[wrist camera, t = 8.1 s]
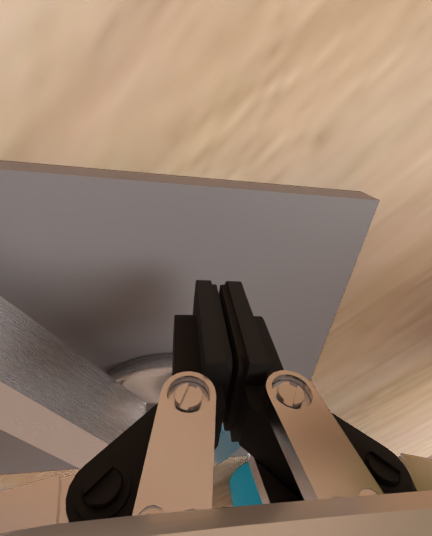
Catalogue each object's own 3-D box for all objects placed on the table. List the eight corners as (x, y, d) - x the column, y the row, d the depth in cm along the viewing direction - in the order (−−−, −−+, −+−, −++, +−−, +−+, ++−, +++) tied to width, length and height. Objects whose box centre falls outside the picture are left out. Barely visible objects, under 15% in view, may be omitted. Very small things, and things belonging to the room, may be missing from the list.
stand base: (360, 191, 15) (388, 204, 13) (276, 434, 24) (284, 461, 22) (-124, 149, 11) (-182, 159, 9) (0, 452, 21) (-16, 485, 19)
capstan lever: (-5, 127, 10) (-121, 145, 6) (271, 413, 20) (295, 491, 16) (-184, 280, 12) (-367, 372, 8) (153, 473, 22) (149, 556, 18)
